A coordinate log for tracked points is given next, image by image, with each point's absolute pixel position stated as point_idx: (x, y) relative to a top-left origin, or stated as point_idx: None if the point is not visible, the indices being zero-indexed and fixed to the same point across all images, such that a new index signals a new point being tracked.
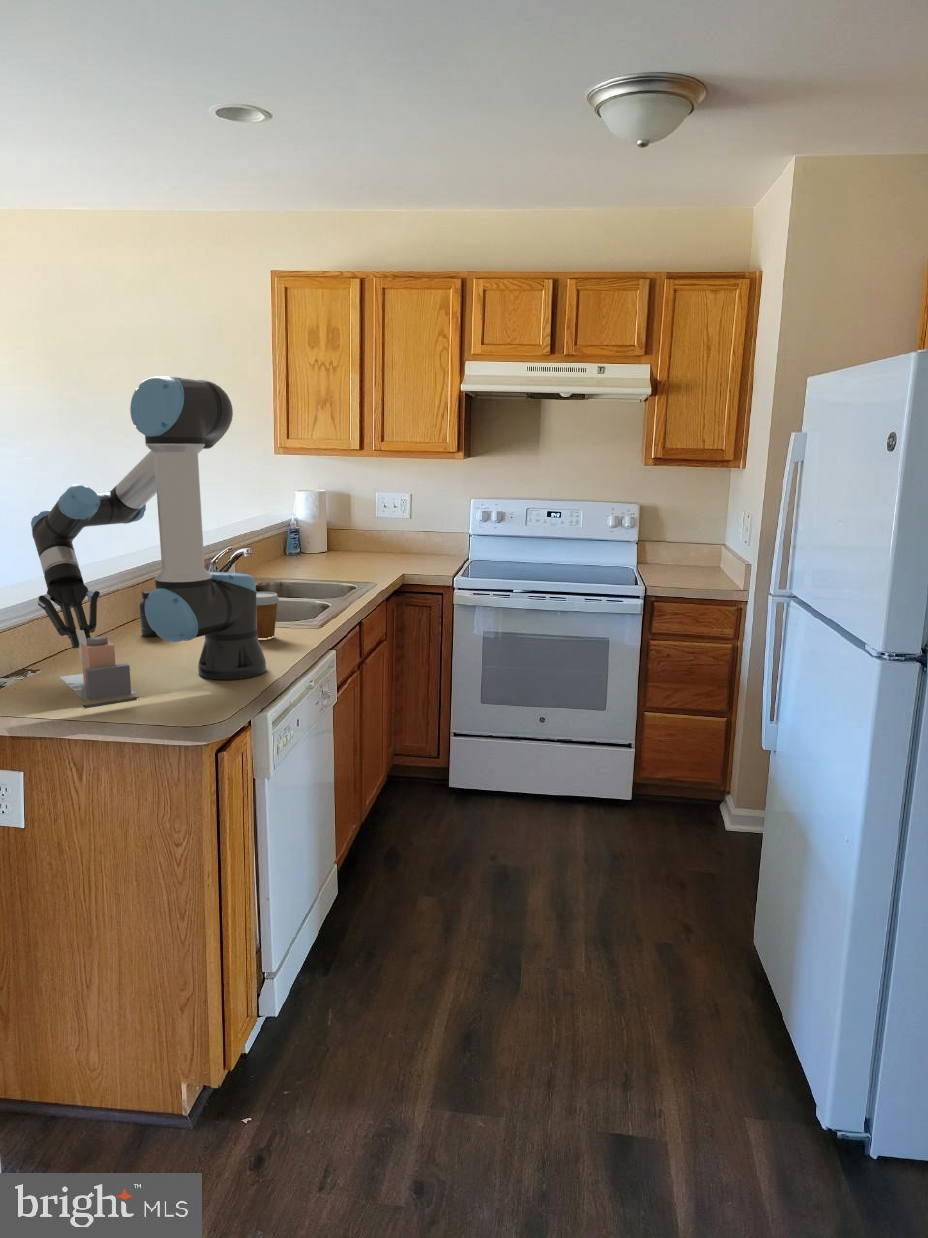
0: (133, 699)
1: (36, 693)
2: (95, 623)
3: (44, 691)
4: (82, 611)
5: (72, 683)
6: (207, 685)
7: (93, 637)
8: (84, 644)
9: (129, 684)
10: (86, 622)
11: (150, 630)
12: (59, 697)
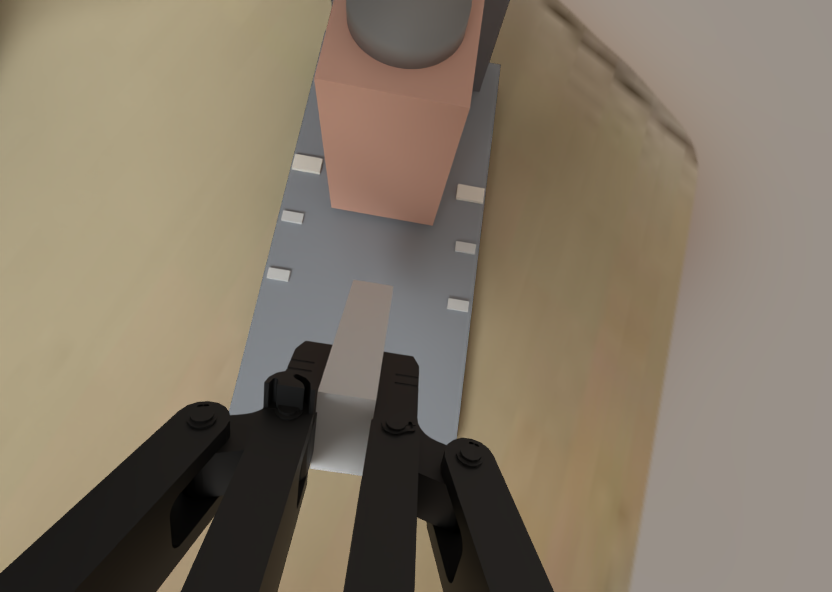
0: None
1: (570, 370)
2: (178, 420)
3: (537, 377)
4: (204, 580)
5: (452, 298)
6: (32, 34)
7: (410, 36)
8: (474, 45)
9: None
10: (251, 446)
11: None
12: (517, 257)
